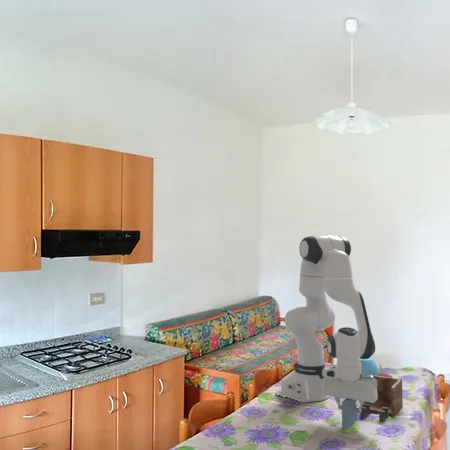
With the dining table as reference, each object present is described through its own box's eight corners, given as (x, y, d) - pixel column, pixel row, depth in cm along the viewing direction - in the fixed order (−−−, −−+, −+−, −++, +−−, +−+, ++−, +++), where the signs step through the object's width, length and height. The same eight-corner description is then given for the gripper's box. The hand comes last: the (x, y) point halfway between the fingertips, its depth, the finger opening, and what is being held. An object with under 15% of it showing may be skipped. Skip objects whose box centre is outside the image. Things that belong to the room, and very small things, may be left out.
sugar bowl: (357, 383, 226) (357, 359, 227) (342, 375, 241) (342, 351, 241) (386, 381, 230) (385, 356, 230) (369, 372, 244) (369, 349, 245)
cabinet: (355, 415, 185) (355, 386, 186) (370, 401, 202) (369, 374, 202) (390, 422, 178) (389, 392, 179) (402, 406, 195) (402, 379, 195)
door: (351, 429, 173) (350, 403, 173) (342, 427, 175) (341, 402, 175) (360, 420, 181) (359, 396, 181) (351, 418, 183) (350, 394, 183)
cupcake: (383, 393, 212) (383, 365, 212) (369, 388, 219) (369, 361, 220) (398, 390, 216) (397, 363, 216) (383, 385, 223) (383, 359, 224)
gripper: (379, 374, 176) (380, 412, 175) (326, 367, 187) (326, 403, 186) (374, 379, 170) (375, 418, 170) (320, 371, 182) (320, 408, 181)
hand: (349, 410), depth 178 cm, fingers open, 5 cm apart
